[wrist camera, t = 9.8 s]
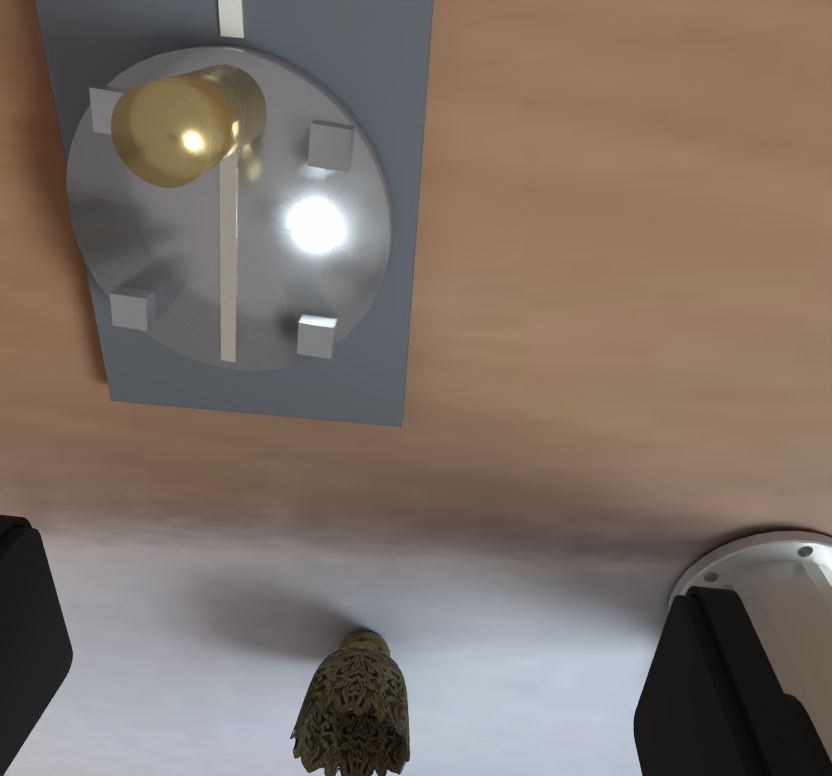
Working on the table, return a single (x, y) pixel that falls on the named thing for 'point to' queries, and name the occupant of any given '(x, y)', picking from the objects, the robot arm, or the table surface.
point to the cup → (355, 712)
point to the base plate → (366, 97)
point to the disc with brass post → (230, 207)
